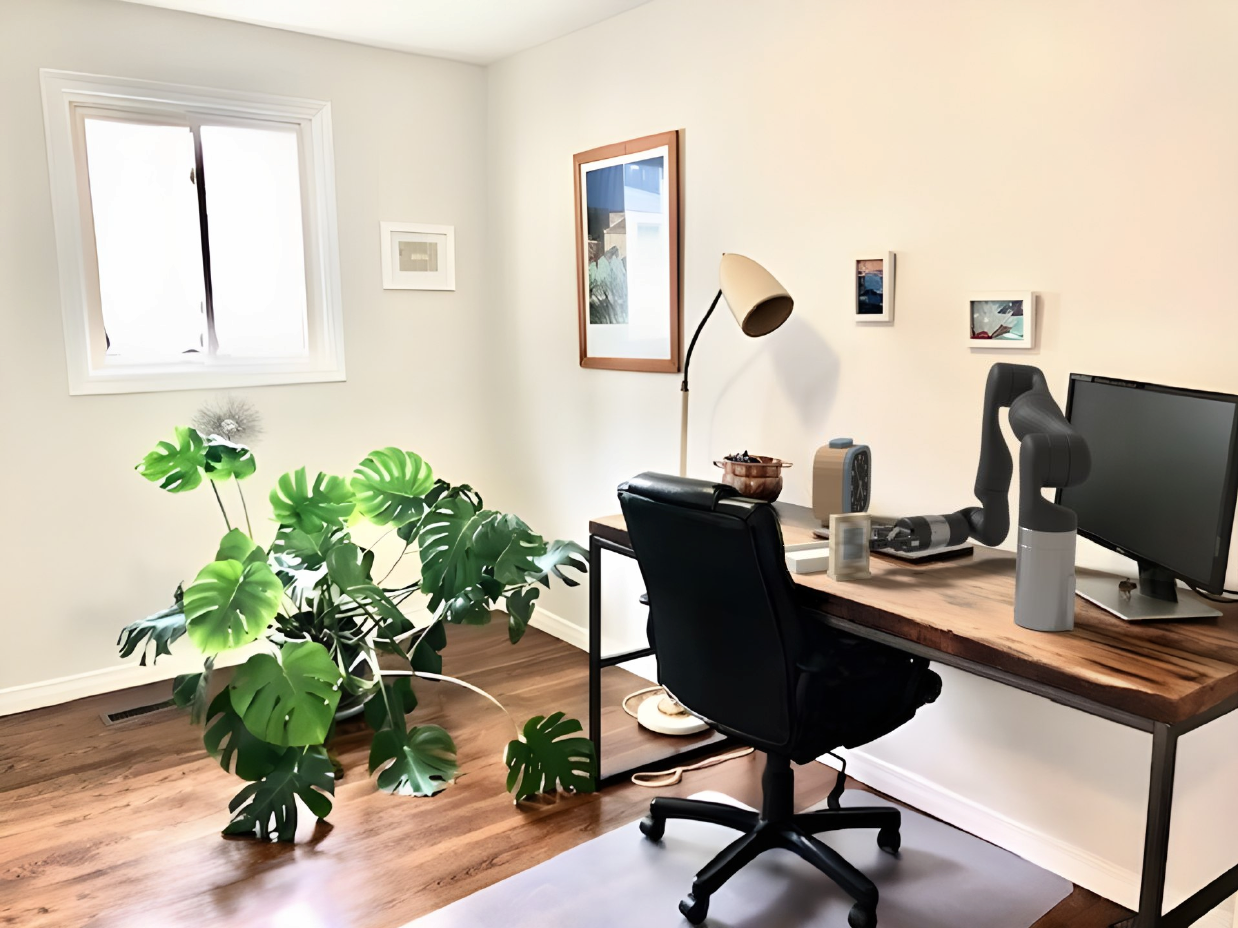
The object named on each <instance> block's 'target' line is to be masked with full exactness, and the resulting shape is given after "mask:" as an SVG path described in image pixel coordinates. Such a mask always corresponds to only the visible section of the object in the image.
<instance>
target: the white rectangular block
mask: <svg viewBox="0 0 1238 928" xmlns="http://www.w3.org/2000/svg"><path fill="white" fill-rule="evenodd" d="M785 559H786V563H787V567H788V570H787V571H789V572H791V573H793V574H795V575H796V574H798V575H799V574H805V573H814V572H822V571H823V572H824V571H829V539H828V540H821V541H813V542H812V541H810V542H802V543H794V544H786V545H785Z"/></svg>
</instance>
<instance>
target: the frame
mask: <svg viewBox="0 0 1238 928" xmlns="http://www.w3.org/2000/svg"><path fill="white" fill-rule="evenodd" d="M871 515H872V514H871V513H868V512H861V513H848V514H834V515H830V526H828V527H829V529H828V530H829V534H828V537H829V538H828V540H829V570H826V577H827V578H829V579H831V580H832V581H835V582H842V581H843V582H844V581H853V580H863V579H865V580H866V579H872V572H871V571H870V563H871V562H870V560H871V559H870V558H871V557H870V556H871V555H870V554H871V553H870V552H871V550H870V549H869V540H870V525H871V518H872V517H871Z"/></svg>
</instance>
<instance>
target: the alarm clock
mask: <svg viewBox="0 0 1238 928" xmlns="http://www.w3.org/2000/svg"><path fill="white" fill-rule="evenodd" d="M811 488H812V491H811V492H812V494H811V495H812V496H811V499H812V500H811V502H812V503H811V504H812V515H813V517H814V519H815V520H819V521H820V520H821V521H820V522H821V524H820V525H821V526H828V527H830V515H834V514H848V513H861V512H866V513H868V511H869V508H870V504H871V494H872V493H871V491H872V451H871V448H870V447H869V445H868V444H855V443H854V440H853V438H851V437H850V438H849V437H848V438H847V437H839V438H833V439H831V440H829V441H828V443H826V444H825V445H821V446H820V447H819V448H818V449H817V450H816V452H815V454H814V457H813V464H812V487H811Z"/></svg>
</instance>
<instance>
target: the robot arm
mask: <svg viewBox="0 0 1238 928" xmlns="http://www.w3.org/2000/svg"><path fill="white" fill-rule="evenodd" d="M983 396H984V398H983V409H982V410H983V411H982V422H981V423H982V424H981V435H980V436H981V437H980V441H981V442H980V451H979V460H978V464H977V465H978V466H977V471H976V477H975V482H974V486H973V487H974V488H973V494H974V497H976V499H977V500H978V501H979V502H980V503H981V505H982V507H981V506H967V507H963V508H962V509H959V510H957V511H954V512H952V513H946V514H945V513H944V514H924V515H915V516H914V515H913V516H906V517H905V516H904V517H900V518H899V519H898V520H896V522H895V523H894V525H885V526H883V525H882V523H877V524H870V540H869V549H870V551H879V550H886V551H887V550H888V551H891V550H893V551H894V552H897V553H898V552H904V553H906V554H911V553H918V552H925V551H934V550H938V549H942V548H943V549H944V548H950V547H956V546H961V545H963V544H964V543H966V542H967V541H968V539H969V538H971V539H973V540H974V541H976V542H978V543H980V544H981V545H984V546H986V547H990V548H996V547H998V546H1000V545H1002V544H1004V542H1005V541H1006V539H1007V538H1008V535H1009V532H1010V528H1011V520H1010V519H1011V518H1010V503H1009V491H1010V487H1011V483H1012V479H1013V478H1012V477H1013V474H1014V461H1013V456H1012V454H1011V451H1010V448H1009V446H1008V444H1007V442H1006V439H1005V437H1004V435H1003V431H1002V429H1001V426H1000V408H1008V412H1007V413H1008V415H1007V417H1008V423H1009V425H1010V428H1011V431H1012V433H1013V435H1014V437H1015V438H1016V439H1017V441H1018V442H1019V443H1020V446H1019V452H1018V467H1019V468H1018V475H1019V477H1018V479H1019V485H1018V486H1019V498H1018V523H1017V541H1016V543H1017V544H1016V563H1015V584H1014V604H1013V606H1014V607H1013V622H1014V623H1015V624H1016V625H1018V626H1021V627H1023V628H1027V629H1030V630H1035V631H1042V632H1062V631H1074V625H1075V624H1074V623H1075V606H1076V604H1075V603H1076V588H1077V586H1076V585H1077V576H1076V573H1075V568H1076V553H1077V552H1076V551H1077V534H1078V515H1077V513H1076V511H1074V510H1073V509H1071V508H1068V507H1065V506H1063V505H1060V504H1057V503H1055V502H1052V501H1050V500H1049V499H1047V498H1045V497H1044V495H1042V488H1045V489H1074V488H1078V487H1081V486H1084V485H1085V484H1086V483H1087V482H1088V480H1089V479H1090V477H1091V474H1092V471H1093V457H1092V451H1091V448H1090V445H1089V444H1088V442H1087V440H1086V439H1085V437H1084V436H1083V435H1082V434H1081V433H1080V432H1079V431H1078V430H1077V429H1076V428H1075V427H1074V426H1073V425H1072V424H1071V423H1070V422H1069V421H1068V419H1067V418H1066V417H1065V415H1064V412H1063V411H1062V408H1061V407H1060V405H1059V404H1058V403H1057V401H1056V400H1055V399H1054V397H1053V396H1052V393H1051V391H1050V389H1049V385H1048V382H1047V379H1046V376H1045V374H1044V372H1043V371H1042V369H1040V368H1039V367H1037V366H1035V365H1031V364H1030V365H1029V364H1020V363H1019V364H1018V363H1011V362H999V361H997V362H995V363H994V364H992V366H991V367H990V369H989V371H988V373H987V377H986V382H985V389H984V395H983Z"/></svg>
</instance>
